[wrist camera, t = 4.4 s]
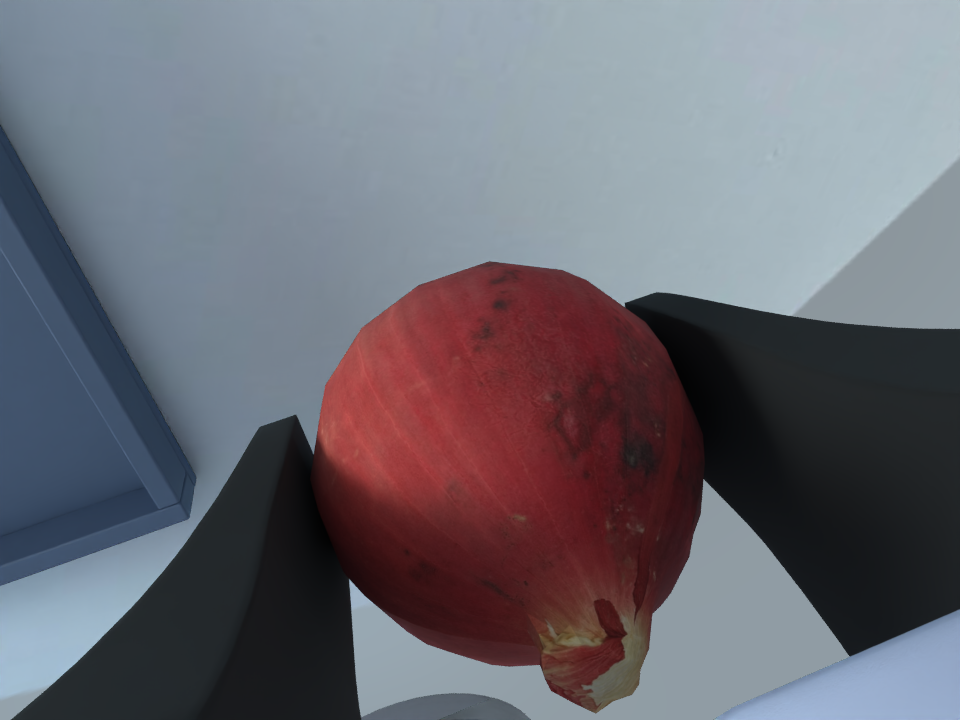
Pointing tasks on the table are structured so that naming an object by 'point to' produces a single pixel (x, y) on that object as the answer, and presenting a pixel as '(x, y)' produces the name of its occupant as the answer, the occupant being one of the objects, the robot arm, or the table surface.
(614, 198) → the table surface
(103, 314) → the tray
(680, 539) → the red pomegranate
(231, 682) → the robot arm
